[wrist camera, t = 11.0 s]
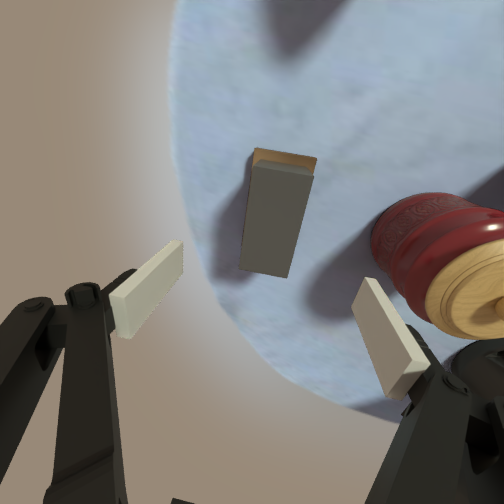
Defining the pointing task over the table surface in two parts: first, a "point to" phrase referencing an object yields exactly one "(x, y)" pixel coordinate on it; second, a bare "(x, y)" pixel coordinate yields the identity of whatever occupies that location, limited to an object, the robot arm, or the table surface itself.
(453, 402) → the robot arm
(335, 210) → the table surface
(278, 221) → the grey bevelled block
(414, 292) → the canister
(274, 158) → the block
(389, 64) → the table surface
